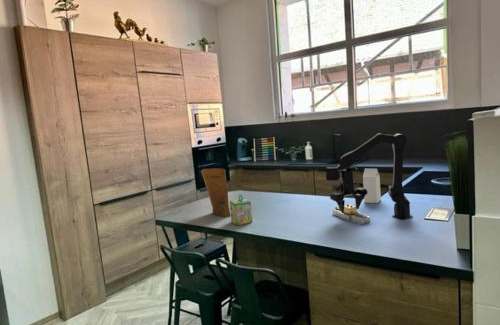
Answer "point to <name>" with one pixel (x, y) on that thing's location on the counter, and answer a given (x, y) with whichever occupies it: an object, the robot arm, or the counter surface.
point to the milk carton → (371, 185)
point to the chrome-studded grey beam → (355, 218)
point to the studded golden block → (350, 210)
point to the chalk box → (241, 211)
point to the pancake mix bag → (217, 190)
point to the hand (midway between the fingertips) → (350, 210)
